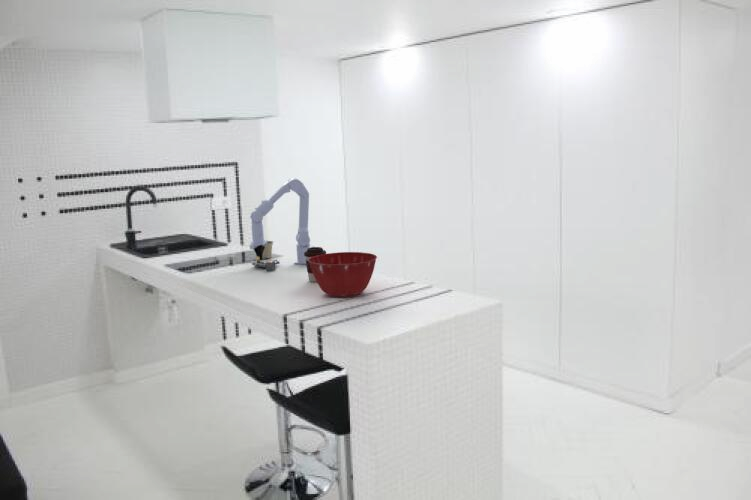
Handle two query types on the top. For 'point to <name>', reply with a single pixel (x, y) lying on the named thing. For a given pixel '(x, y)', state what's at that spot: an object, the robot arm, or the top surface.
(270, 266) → the cube with orange inset
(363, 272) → the mixing bowl
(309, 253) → the coffee cup
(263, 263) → the sprocket
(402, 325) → the top surface
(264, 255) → the flower pot
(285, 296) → the top surface
